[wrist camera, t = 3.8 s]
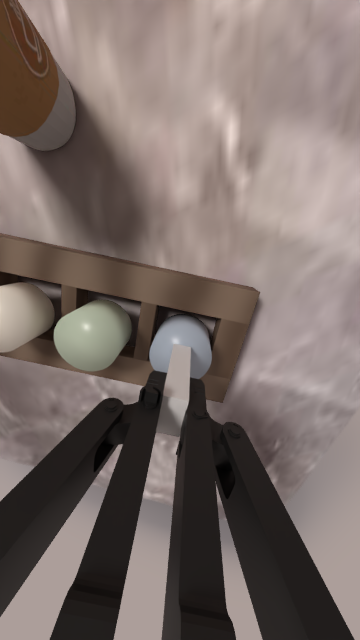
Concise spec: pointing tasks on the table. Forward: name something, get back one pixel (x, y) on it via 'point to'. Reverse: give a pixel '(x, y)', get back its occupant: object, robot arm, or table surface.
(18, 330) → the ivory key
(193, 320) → the pale blue rounded knob
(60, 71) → the coffee cup
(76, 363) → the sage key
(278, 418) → the table surface
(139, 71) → the table surface
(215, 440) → the robot arm
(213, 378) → the wooden tray
